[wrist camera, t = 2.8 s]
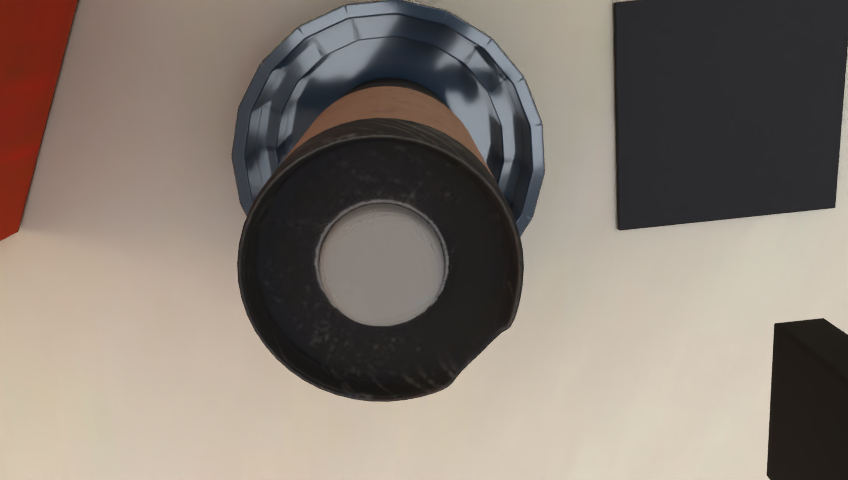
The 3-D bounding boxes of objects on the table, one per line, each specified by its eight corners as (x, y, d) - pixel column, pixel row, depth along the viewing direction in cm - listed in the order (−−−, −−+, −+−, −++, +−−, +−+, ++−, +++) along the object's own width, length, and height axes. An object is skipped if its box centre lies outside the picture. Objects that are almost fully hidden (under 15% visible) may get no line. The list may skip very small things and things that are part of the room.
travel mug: (312, 74, 36) (212, 133, 17) (462, 68, 36) (531, 120, 17) (324, 218, 38) (247, 414, 19) (464, 212, 38) (528, 401, 19)
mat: (613, 2, 36) (615, 2, 35) (848, -22, 36) (853, -23, 35) (617, 228, 39) (619, 230, 39) (831, 206, 39) (835, 207, 39)
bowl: (234, 19, 35) (205, 19, 30) (515, -10, 35) (535, -16, 30) (279, 282, 40) (261, 322, 34) (531, 256, 40) (551, 292, 34)
